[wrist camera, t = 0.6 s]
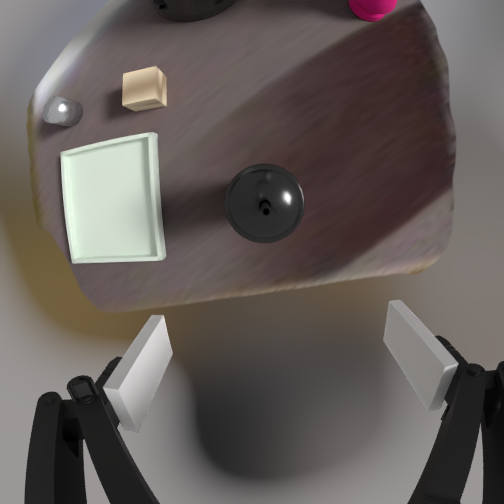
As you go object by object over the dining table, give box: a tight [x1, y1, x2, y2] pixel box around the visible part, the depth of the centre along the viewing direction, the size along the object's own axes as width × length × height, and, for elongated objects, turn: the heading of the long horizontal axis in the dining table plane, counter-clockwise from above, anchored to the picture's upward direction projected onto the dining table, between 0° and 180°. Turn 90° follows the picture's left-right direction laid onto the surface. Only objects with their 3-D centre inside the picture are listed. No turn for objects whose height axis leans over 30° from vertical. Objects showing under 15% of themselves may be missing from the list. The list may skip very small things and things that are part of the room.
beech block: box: [122, 66, 167, 112], centre depth 34 cm, size 5×5×5 cm
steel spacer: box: [43, 96, 83, 127], centre depth 34 cm, size 4×4×6 cm
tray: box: [61, 132, 166, 263], centre depth 40 cm, size 19×17×2 cm
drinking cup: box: [224, 164, 305, 243], centre depth 31 cm, size 8×8×20 cm
